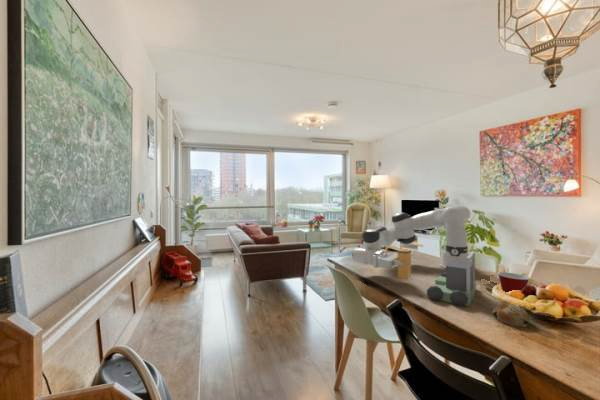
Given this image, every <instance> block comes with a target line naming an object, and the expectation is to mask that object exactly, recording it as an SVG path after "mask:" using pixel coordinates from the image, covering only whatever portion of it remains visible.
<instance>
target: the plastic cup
mask: <svg viewBox="0 0 600 400" xmlns="http://www.w3.org/2000/svg"><path fill="white" fill-rule="evenodd" d="M497 275H498V277H499V282H500V287H502V288H501V290H502V289H503V291H505V292H509V291H512V290H522V289H523V288H524V287H525V286H526V287H527V285H528V282H529V280H530V279H531V277H529V276H527V275H523V274H520V273H512V272H505V271H504V272H502V271H499V272H497Z"/></svg>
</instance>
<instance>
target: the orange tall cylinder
mask: <svg viewBox="0 0 600 400" xmlns="http://www.w3.org/2000/svg"><path fill="white" fill-rule="evenodd" d="M396 253H398V261H404V263H405V264H404V265H397V278H399V279H403V280H409V279H410V278H411V277H412V265H411V264H412V249H404V248H400V249H398V250H397V252H396Z"/></svg>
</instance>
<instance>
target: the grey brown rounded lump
mask: <svg viewBox="0 0 600 400" xmlns="http://www.w3.org/2000/svg"><path fill="white" fill-rule="evenodd" d="M520 307H521V306H520ZM520 307H518V306H516V305H513V304H510V303H506V302H505V303H501V304H498V305H496V306H494V308H493V310H492V314H493V316H494V318H495V319H496V320H497V321H499V322H500V323H503V324H505V325H508V326H513V327H517V328H518V327H519V328H520V327H521V328H526V327H528V325H529V324H530V321H531V318H530V315H529V313H528V312H527V311H526V309H524V308H523V309H522V307H521V308H520Z"/></svg>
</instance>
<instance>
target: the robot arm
mask: <svg viewBox="0 0 600 400" xmlns="http://www.w3.org/2000/svg"><path fill="white" fill-rule="evenodd" d="M470 217H471V211H470V209H469V208H468V207H466V206H464V205H459V204H458V205H449V206H447V207H443V208H441V209H440V208H439V209H434V210H430V211H427V212H421V213H418V214H415V215H413V216H411V214H408V213H406V212H403V211H402V212H397V213H395V214H393V216H392V217H391V222H392V224H393V226H390V225H389V226H378V227H377V226H376V227H374V228H370V229H369V228H368V229H365V230H364V231H363V232H362V233H361V238H362V243H363V245H362V246H363V248H362V247H354V248H353V250H352V253H351V254H352V261H354V262H355V263H357V264H361V265H367V266H368V265H370V266H373V269H374V268H375V269H378V268H382V269H390V268H391V269H392V267H394V266H398V265H404V264H405V263H404V261H398V253H397V252H389V253H386V251H385V250H383V249H382V248H381V246H382V247H389V246H392V244H393V243H394V242H395V241H397V242H398V243H400V244H404V245H409V244H412V243H414V242H416V239H417V237H416V234H415V231H418V230H419V231H422V230H428V229H436V228H439V227H444V228H445V239H446V244H445V251H444V252H443V253H442V263H440V264H439V267H440V268H441V267H442V268H443V269H446V265H447V264H448V263H449V262H450V261H458V262H466V258H467V257H468V255H469V253H468V252H469V247H468V233H467V231H466V227H465V222H467V221H468V220H469V219H470ZM414 230H415V231H414ZM470 263H472V261H470Z"/></svg>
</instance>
